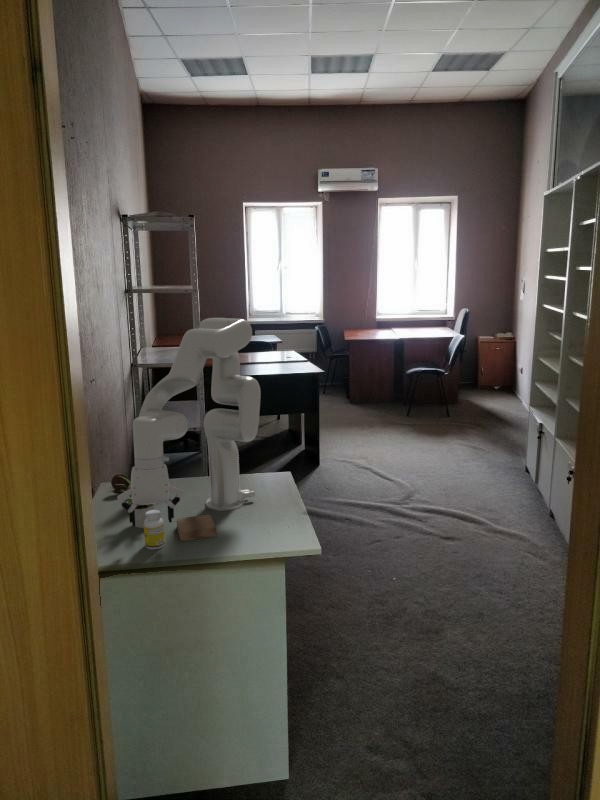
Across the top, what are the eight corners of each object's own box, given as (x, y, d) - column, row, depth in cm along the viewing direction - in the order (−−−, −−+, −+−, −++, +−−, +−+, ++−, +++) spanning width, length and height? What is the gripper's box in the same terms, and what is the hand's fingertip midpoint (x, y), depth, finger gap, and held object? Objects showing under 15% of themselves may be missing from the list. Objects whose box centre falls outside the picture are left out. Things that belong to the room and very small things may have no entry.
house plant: (116, 517, 187) (111, 467, 184) (161, 511, 192) (158, 462, 188) (118, 535, 174) (114, 481, 171) (167, 528, 178) (164, 476, 175)
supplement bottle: (146, 542, 170) (144, 509, 168) (166, 541, 170) (164, 508, 168) (143, 550, 165) (141, 516, 163) (163, 549, 165) (161, 515, 163)
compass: (134, 486, 215) (132, 466, 214) (130, 494, 207) (128, 474, 206) (110, 487, 214) (109, 467, 213) (106, 495, 207) (104, 475, 205)
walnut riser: (210, 523, 182) (210, 514, 181) (216, 537, 172) (216, 527, 172) (177, 528, 179) (176, 518, 178) (180, 542, 170) (180, 532, 169)
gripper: (180, 456, 168) (182, 514, 172) (115, 461, 163) (118, 521, 167) (183, 463, 161) (185, 524, 165) (115, 469, 156) (119, 531, 159)
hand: (152, 522), depth 166 cm, fingers open, 9 cm apart
